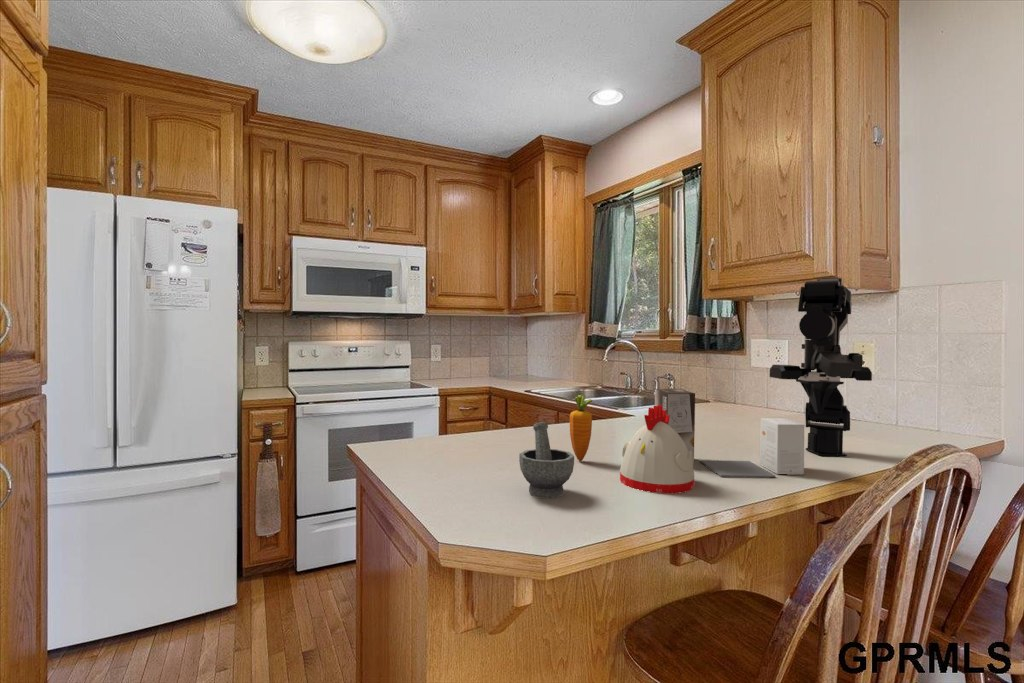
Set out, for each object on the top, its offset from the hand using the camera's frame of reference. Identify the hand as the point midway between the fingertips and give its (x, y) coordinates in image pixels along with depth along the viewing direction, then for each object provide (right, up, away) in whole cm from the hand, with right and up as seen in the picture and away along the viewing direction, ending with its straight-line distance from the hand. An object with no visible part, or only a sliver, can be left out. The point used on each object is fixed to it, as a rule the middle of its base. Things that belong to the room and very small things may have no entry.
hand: (818, 413), depth 111 cm
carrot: (-50, -12, +5) cm, 52 cm away
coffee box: (-29, -12, +6) cm, 32 cm away
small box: (-8, -12, 0) cm, 15 cm away
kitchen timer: (-37, -12, -10) cm, 40 cm away
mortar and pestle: (-59, -12, -16) cm, 63 cm away
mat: (-17, -12, 0) cm, 21 cm away
